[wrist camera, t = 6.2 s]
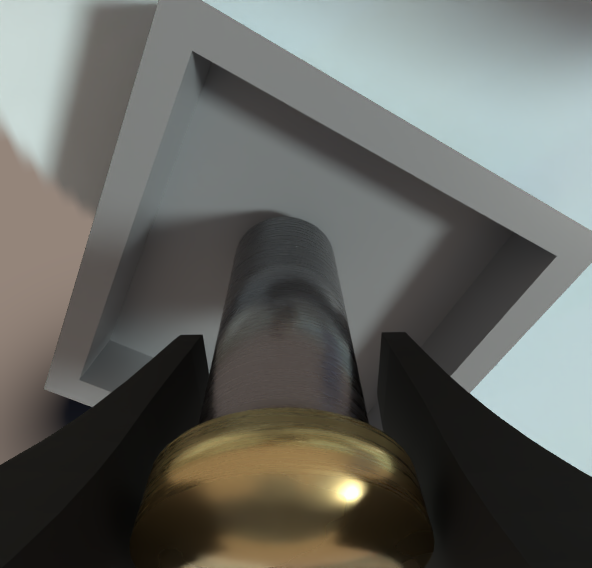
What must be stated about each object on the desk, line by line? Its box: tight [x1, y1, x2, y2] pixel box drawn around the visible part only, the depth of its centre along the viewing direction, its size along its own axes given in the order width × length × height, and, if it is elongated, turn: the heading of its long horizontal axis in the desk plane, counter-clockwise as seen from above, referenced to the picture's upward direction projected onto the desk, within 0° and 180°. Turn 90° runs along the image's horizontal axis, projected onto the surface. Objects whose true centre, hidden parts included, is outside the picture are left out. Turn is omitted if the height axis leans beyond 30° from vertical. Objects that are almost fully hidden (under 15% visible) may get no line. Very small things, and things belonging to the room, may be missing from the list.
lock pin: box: [129, 217, 435, 568], centre depth 10 cm, size 5×5×9 cm
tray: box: [44, 0, 592, 431], centre depth 14 cm, size 13×13×3 cm
